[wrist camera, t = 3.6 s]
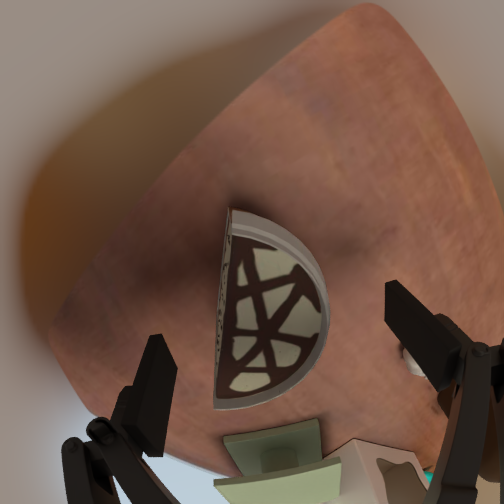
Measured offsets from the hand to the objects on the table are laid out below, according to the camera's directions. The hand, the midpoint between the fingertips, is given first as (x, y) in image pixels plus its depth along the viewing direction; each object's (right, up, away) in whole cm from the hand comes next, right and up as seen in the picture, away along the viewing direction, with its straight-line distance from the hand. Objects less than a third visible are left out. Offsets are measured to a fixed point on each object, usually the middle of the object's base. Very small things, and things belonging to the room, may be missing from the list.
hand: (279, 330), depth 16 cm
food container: (-1, +3, +8) cm, 9 cm away
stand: (+2, -23, +18) cm, 29 cm away
